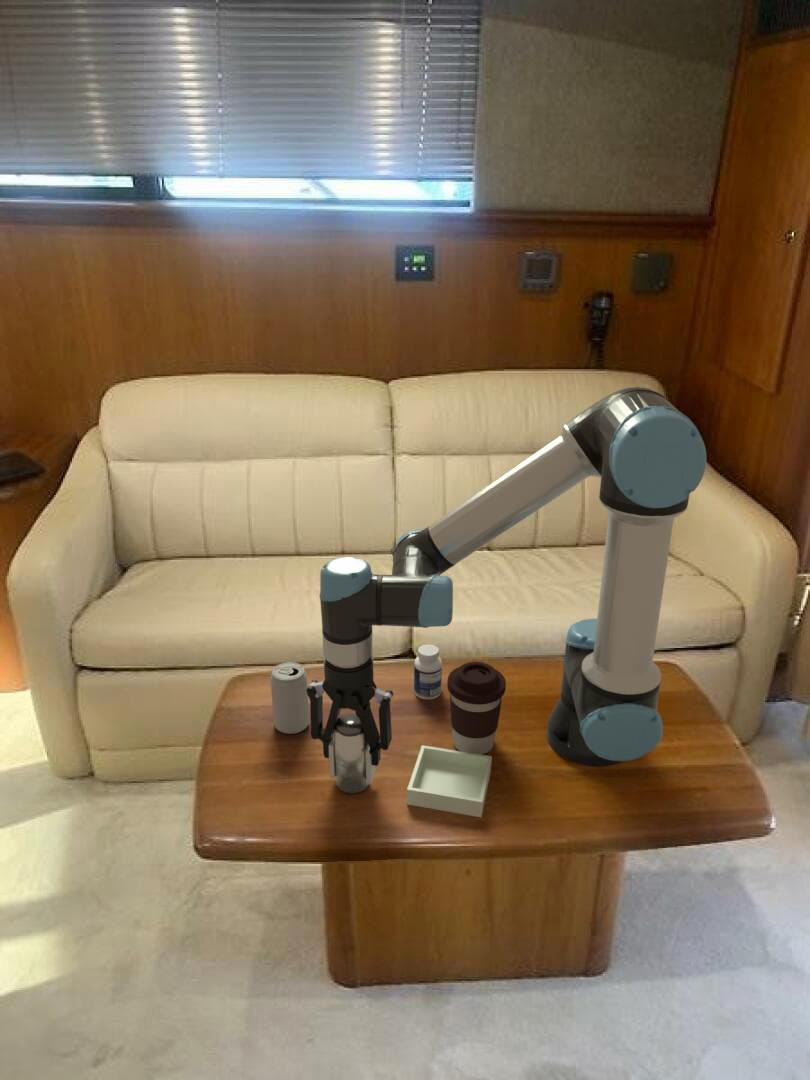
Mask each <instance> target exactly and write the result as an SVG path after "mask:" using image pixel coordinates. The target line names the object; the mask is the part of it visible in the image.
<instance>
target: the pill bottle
mask: <svg viewBox="0 0 810 1080" xmlns="http://www.w3.org/2000/svg"><path fill="white" fill-rule="evenodd" d="M413 663H414V664H413V665H414V666H413V667H414V668H413V693H414V694H415V696H417V697H418V698H419V699H422V700H434V699H437V698H439V696H440V695H441V693H442V688H443V684H442V683H443V681H442V679H443V660H442V659H441V657H440V650H439V647H438V646H436V645H435V644H434V645H433V644H423V645H421V646H419V647H418V649H417V656H416V658H415V659H414V662H413Z"/></svg>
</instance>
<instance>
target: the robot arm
mask: <svg viewBox="0 0 810 1080" xmlns="http://www.w3.org/2000/svg"><path fill="white" fill-rule="evenodd" d="M706 467H707V451H706V446H705V443H704V439H703V438H702V436H701V434H700V431H699V430H698V428H697V426H696V425H695V423H693V421H692V420H691V419H690V418H689V417H688V416H686V414H684V413H682V412H681V411H679V410H678V409H677V408H676V407H675V405H673V404H672V402H670V400H668V398H667V397H666V396H664V395H663V394H661V393H660V392H658V391H655V390H653V389H651V388H646V387H640V386H636V387H635V386H634V387H626V388H623V389H619V390H616V391H614V392H612V393H610V394H608V395H606V396H605V397H603V398H601V399H599V400H598V401H596V402H595V403H594V404H592V405H590V406H589V407H587V408H586V409H584V410H583V411H581V412H580V413H579V414H577V415H576V416H575V417H573V418H572V419H570V420H569V421H567V422H566V423H564V424H563V427H562V431H561V434H560V435H559V436H557V437H556V438H554V439H553V440H551V441H550V442H548V444H546V445H544V446H543V447H542V448H540V449H538V450H537V451H536V452H534V453H533V454H532V455H530V456H529V457H527V458H525V459H524V460H523V461H521V462H520V463H518V464H517V465H515V466H513V468H511V469H510V470H508V471H507V472H506V473H504V474H502V475H501V476H500V477H498V478H496V479H495V480H494V481H493V482H491V483H489V484H488V485H487V486H485V487H483V488H482V489H481V490H480V491H478V492H477V493H474V495H472V496H471V497H469V498H467V500H465V501H464V502H462V503H461V504H459V505H457V506H456V507H455V508H453V509H452V510H450V511H449V512H447V513H446V514H445V515H443V516H442V517H440V518H439V519H438V520H436V521H435V522H433V523H431V524H430V525H428V526H427V527H426V528H424V529H413V530H409V531H406V532H404V533H403V534H402V535H401V536H400V537H399V538H398V540H397V542H396V543H395V544H396V545H395V547H394V549H393V554H392V569H391V571H392V572H391V574H379V573H377V574H375V573H373V571H372V568H371V564H370V563H369V562H368V561H366V559H363V558H356V557H354V556H341V557H340V556H339V557H337V558H333V559H330V560H329V561H327V562H326V563H325V564H324V565H323V566H322V568H321V569H320V579H319V581H320V584H319V586H320V591H319V599H320V612H321V613H320V614H321V626H322V629H321V631H322V632H321V633H322V653H323V655H322V656H323V666H324V667H323V669H324V670H323V671H324V675H323V676H324V681H319V680H317V679H312V680H311V682H310V683H309V685H308V686H307V687H308V688H307V690H306V691H307V694H308V700H309V701H310V702H309V704H310V705H309V706H310V709H309V713H310V737H311V738H312V740H320V741H321V743H322V749H323V756H324V758H325V759H329V760H328V761H329V762H328V763H329V778H332V779H336V766H335V745H334V726H335V724H336V721H337V719H338V718H339V717H340V712H341V710H342V709H345V710H346V709H349V710H351V711H355V714H356V715H357V717H359V719H360V722H361V725H362V727H363V730H364V733H365V736H366V739H367V742H368V747H367V749H366V751H365V754H366V783H367V784H369V785H371V784H372V783H373V780H374V778H375V776H376V775H375V774H376V766H377V767H378V765H379V763H380V761H381V758H382V757H381V756H382V755H381V752H382V751H381V750H383V751H387V750H389V747H390V744H391V742H392V739H393V734H392V733H393V732H392V712H391V701H392V698H393V696H394V692H393V691H392V690H391V689H386V691H383V690H381V689H379V688H378V687H377V685H376V683H375V681H374V655H373V653H374V651H373V650H374V649H373V648H374V647H373V646H374V645H373V642H374V641H373V640H374V639H373V626H377V627H380V626H381V627H382V626H385V627H387V626H389V627H410V628H423V629H427V628H434V627H437V628H438V627H447V626H449V625H451V623H452V621H453V613H454V609H453V608H454V585H453V584H454V582H453V579H451V577H449V576H447V575H442V574H443V573H445V572H447V571H449V570H450V569H452V568H453V567H455V566H456V565H457V564H458V563H460V562H461V561H463V560H464V559H466V558H467V557H469V556H470V555H472V554H473V553H474V552H476V551H478V550H480V549H481V548H482V547H484V546H486V545H487V544H488V543H490V542H491V541H494V540H495V539H496V538H498V537H499V536H501V535H502V534H504V533H506V532H507V531H509V530H510V529H511V528H513V527H515V526H516V525H518V524H519V523H520V522H522V521H523V520H525V519H526V518H528V517H530V516H531V515H533V514H534V513H535V512H537V511H538V510H540V509H542V508H543V507H544V506H546V505H548V504H549V503H550V502H552V501H554V500H556V499H557V498H559V497H560V496H561V495H563V494H565V493H567V492H568V491H570V490H571V489H572V488H574V487H575V486H577V485H578V484H580V483H581V482H583V481H584V480H586V479H587V478H590V477H595V478H600V483H599V485H600V486H599V496H598V499H599V502H600V504H601V505H602V506H603V507H604V508H605V509H606V510H607V511H608V517H607V518H608V519H607V527H606V536H605V545H604V554H603V564H602V572H601V582H600V591H599V597H598V598H599V601H598V609H597V610H598V611H597V618H587V619H582V620H579V621H576V622H574V623H572V624H571V625H570V626H569V628H568V630H567V633H566V638H565V641H564V643H565V650H564V658H563V669H562V678H561V685H560V686H561V688H560V689H561V690H560V696H559V698H558V700H557V702H556V704H555V706H554V708H553V710H552V711H551V713H550V715H549V717H548V720H547V724H546V738H547V742H548V743H549V745H550V747H551V748H552V749H553V750H554V751H555V753H557V754H558V755H559V756H561V757H563V758H564V759H566V760H568V761H570V762H573V763H574V764H578V765H581V766H582V765H583V766H588V767H595V768H596V767H597V768H603V767H610V766H615V765H618V764H620V763H623V762H627V761H629V762H630V761H634V760H638V759H639V758H642V757H643V756H644V755H646V754H649V753H651V752H652V751H653V750H654V749H656V748H657V746H658V745H659V744H660V742H661V739H662V738H663V733H664V726H663V719H662V716H661V715H660V713H659V712H658V701H659V693H660V689H661V688H660V687H661V681H662V673H661V670H660V668H659V666H657V664H655V662H654V661H653V660H654V654H655V648H656V641H657V640H656V639H657V634H658V628H659V619H660V614H661V607H662V599H663V594H664V592H663V591H664V588H665V587H664V586H665V581H666V580H665V579H666V573H667V567H668V559H669V553H670V552H669V551H670V546H671V540H672V532H673V524H674V519H676V518H677V517H679V516H680V515H682V514H683V513H685V512H686V511H687V510H688V506H689V500H690V494H691V493H693V492H694V491H696V489H698V488H699V487H698V486H699V485H700V483H701V481H702V480H703V477H704V475H705V472H706ZM324 692H325V694H326V695H327V696H328V697H329V699H330V700H331V702H332V704H331V707H330V710H329V714H328V719H327V721H326V724H325V728H324V718H323V717H324V713H323V711H324V710H323V708H324V707H323V703H324V702H323V699H324V698H323V694H324ZM373 698H375V701H376V702H375V703H376V706H377V707H378V722H379V725H378V726H379V729H378V727H377V724H376V723H377V722H376V720H375V717H374V715H373V712H372V709H371V702H370V701H371V700H372V699H373Z"/></svg>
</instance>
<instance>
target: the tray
mask: <svg viewBox="0 0 810 1080" xmlns="http://www.w3.org/2000/svg"><path fill="white" fill-rule="evenodd" d="M492 759H493V757H492V756H491V755H486V754H481V755H480V754H474V753H467V752H461V751H459V750H454V749H448V748H441V747H435V746H429V745H428V746H427V745H423V744H422V745H421V746H420V749H419V752H418V756H417V759H416V762H415V765H414V768H413V770H412V773H411V776H410V780H409V783H408V786H407V788H406V791H407V792H406V805H408V806H415V807H419V808H426V809H432V810H437V811H443V812H448V813H454V814H460V815H464V816H471V817H478V818H482V816H483V814H484V807H485V802H486V798H487V793H488V788H489V787H488V786H489V782H490V777H491V774H492V773H491V771H492Z"/></svg>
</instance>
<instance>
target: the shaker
mask: <svg viewBox="0 0 810 1080" xmlns="http://www.w3.org/2000/svg"><path fill="white" fill-rule="evenodd" d="M333 736H334V745H335V766H336V776H335V782H336V786H337V788H338V789H339V790H340V791H342V792H344V793H348V794H357V793H360V792H363V791H365V790H366V789H367V788H368V787H369V785H370V784H367V783H366V754H365V751H366V749H367V747H368V742H367V739H366V736H365V733H364V730H363V727H362V725H361V722H360V719H359V717H357V715H356V713H354V712H353V713H351V712H350V713H344V714H342V715H341V716H340V715H339V717H338V719H337V721H336V724H335V726H334V733H333Z"/></svg>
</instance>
